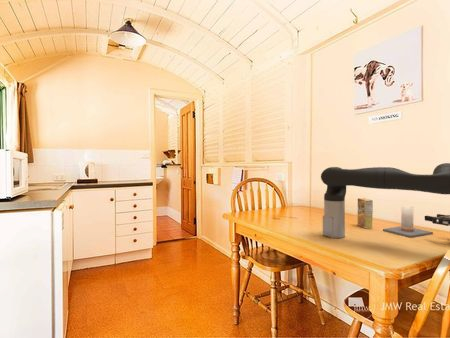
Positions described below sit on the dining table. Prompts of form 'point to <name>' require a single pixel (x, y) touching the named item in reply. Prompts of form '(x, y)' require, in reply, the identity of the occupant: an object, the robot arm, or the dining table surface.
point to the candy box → (365, 213)
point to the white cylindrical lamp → (407, 218)
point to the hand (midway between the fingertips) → (431, 217)
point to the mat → (407, 234)
